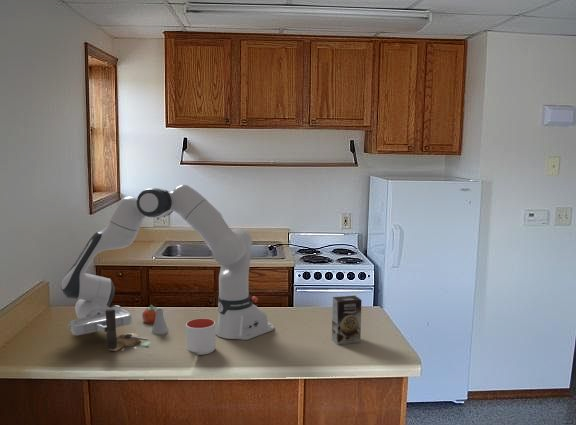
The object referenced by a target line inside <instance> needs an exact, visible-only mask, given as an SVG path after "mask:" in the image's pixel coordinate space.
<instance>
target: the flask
mask: <svg viewBox="0 0 576 425" xmlns="http://www.w3.org/2000/svg"><path fill="white" fill-rule="evenodd" d="M155 312H156V318H155V323H153V327H152V329H151V332H150V333H151V334H153V335H165V334H167V333H169V328H168V327H169V326H168V325H167V323H166V320H165V316H164V308H162V307H160V308H157V309H155Z"/></svg>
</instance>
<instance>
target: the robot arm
mask: <svg viewBox="0 0 576 425" xmlns="http://www.w3.org/2000/svg"><path fill="white" fill-rule="evenodd" d="M173 212H175V214H176V213H177V215H179V216H180V217H181V218H182V219H183V220H184V221H185V222H186V223H187V224H188V225H189V226H190V227H191V228H192V229H194V231H195V232H196V233H198V235H199V236H200V237H201V238H202V240H203V241H204V242H205V244H206V246H207V247H208V248H209V250H210V251H211V253H212V257H213V259H214V260H215V261H216V262H217V263H218V264H219V265H220V270H219V274H218V296H217V306H218V308H217V309H218V320H217V324H216V325H217V326H216V328H215V336H218V337H219V338H223V339H227V340H242V341H247V340H250V339H253V338H255V337H259V336H261V335H264V334H266V333H268V332H272V331H274V324H272V323H271V322H269V321H268V320H269V319H268V316H267V314H266V313H265V311H264V310H263V309H261V308H260V307H258V306H257V305H255V304H254V303H258V301H259V298H258V297H257V296H255V295H253V296H252V295H250V294H249V272H250V263H251V257H252V256H251V254H252V245H253V240H252V239H253V238H252V236H251V234H250V233H249V231H247V230H245V229H244V228H243V229H242V228H233V229H231V228H230V226H229V225H228V224H227V222H226V221H225V219H224V218H223V215H222V213H221V212H220V211H219V210H218V209H217V208H216V207H215V206H214V205H212V203H211V202H210V201H208V200H207V199H206V198H205V197H204V195H202V194H201V193H200V192H198V190H195V189H194V188H193V187H191V186H190V185H188V184H181V185H178V186H176V187H174V188H173V189H172V190H171V191H169V190H166V189H162V188H160V187H149V188H145V189H143V190H142V191H140V193H139V194H138V196H137V197H135V196H125V197H123V198H121V199H120V201H119V202H118V204H117V205H116V207H115V209H114V211H113V212H112V214H111V217H110V219H109V222H107V225H106V226H105V227H104V228H103V229H102V230H100V231H96V232H95V233H94V234H93V235H92V236H91V237H90V239H89V240H88V242H87V243H86V245H85V246H84V248H83V249H82V251H80V254H79V256H78V257H77V259H76V261H75V262H74V264H73V265H72V267H71V268H70V269H69V271H67V273H66V274H65V276H64V278H63V279H62V281H61V286H60V290H61V291H62V293H63V295H64V296H65V297H66V298H67V299H73V300H74V299H75V300H76V299H77V301H76V303H75V306H74V311H75V314H76V316H77V318H76V319H72V320H71V321H70V322H69V323H67V328H70V331H71V333H72V335H73V336H81V335H86V334H91V333H96V332H103V333H107V328H106V310H109V309H114V310H115V320H116V328H120V327H124V326H130V325H131V324H132V323H133V322H132V321H133V320H132V314H131V313H130V312H129V311H127V309H124V308H121V307H122V306H120V305H111V303H112V301H113V299H114V297H115V296H114V295H115V294H116V292H115V291H116V290H115V289H116V288H115V285H114V283H113V280H111V278H109V277H108V278H107V277H104V276H100V275H96V274H91V273H88V272H87V273H86V271H87V270H88V268H89V266H90V265H91V263H92V261H93V260H94V258H95V257H96V255H98V254H99V253H101V252H104V251H109V250H120V249H124V248H127V247H129V246H130V245H132V244H133V242H134V241H135V239H136V238H137V235H138V233H139V230H140V228H141V225H142V223H143V221H144V220H145V219H146V218H147V217H148V218H154V219H159V218H165V217H168V216H169V215H171V214H172V213H173Z"/></svg>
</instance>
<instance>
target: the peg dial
mask: <svg viewBox="0 0 576 425" xmlns="http://www.w3.org/2000/svg"><path fill="white" fill-rule="evenodd" d="M106 328H107V332H106V342H107V344H106V345H107V346H106V347H107V349H108V350H109V351H112V352H117V351H118V350H120V349H123V348H124V347H131V346H134V345H137V344H139V343H141V341H145V342H146V341H147V342H148V341H149V338H148V337H142V336H141V335H140V334H138V333H135V332H134V333H133V332H131V333H130V332H129V333H123V334H120V335H119V336H117V327H116V320H115V310H114V309H109V310H106Z"/></svg>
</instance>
